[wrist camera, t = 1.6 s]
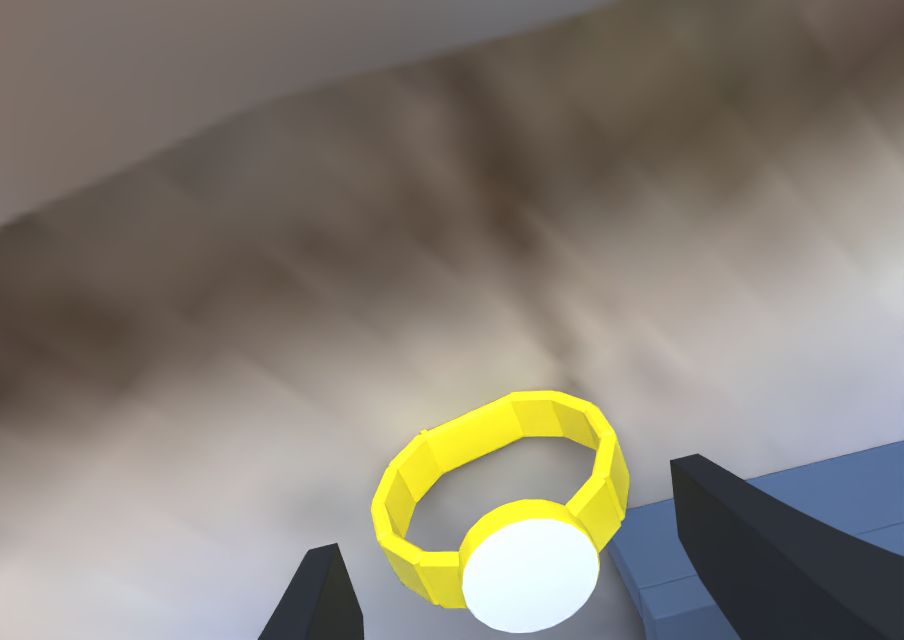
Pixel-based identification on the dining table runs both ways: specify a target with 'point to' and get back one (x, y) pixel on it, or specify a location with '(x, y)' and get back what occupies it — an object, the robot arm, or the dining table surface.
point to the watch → (508, 516)
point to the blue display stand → (804, 488)
